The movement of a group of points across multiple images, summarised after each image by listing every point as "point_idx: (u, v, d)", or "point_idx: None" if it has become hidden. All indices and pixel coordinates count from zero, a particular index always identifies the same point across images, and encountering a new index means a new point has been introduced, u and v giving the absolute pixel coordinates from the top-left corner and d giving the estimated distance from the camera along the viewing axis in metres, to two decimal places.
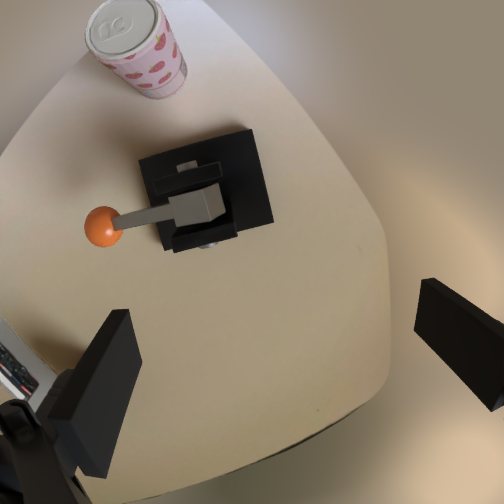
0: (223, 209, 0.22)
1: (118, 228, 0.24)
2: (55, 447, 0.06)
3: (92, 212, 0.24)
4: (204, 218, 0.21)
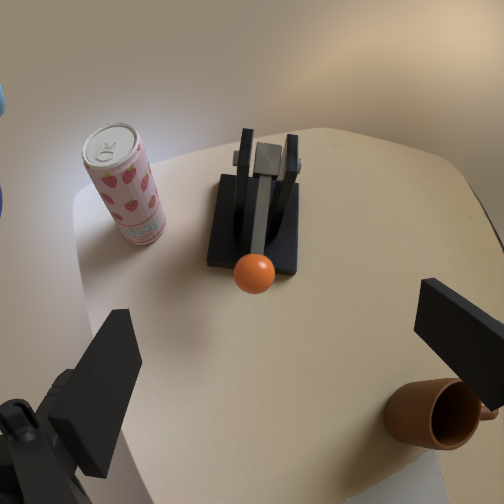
0: None
1: (261, 247, 0.28)
2: (55, 447, 0.06)
3: (236, 271, 0.27)
4: (278, 149, 0.27)
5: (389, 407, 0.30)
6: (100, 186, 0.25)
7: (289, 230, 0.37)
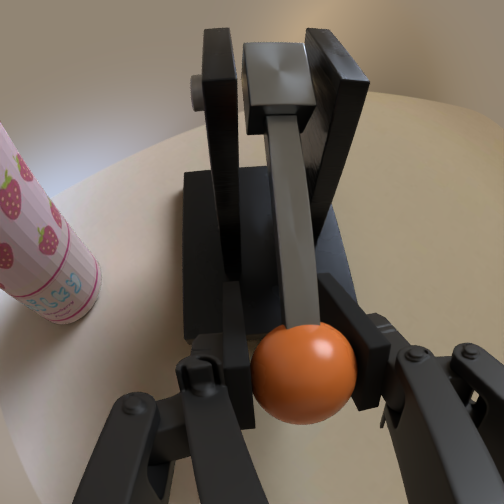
0: None
1: (314, 305, 0.10)
2: None
3: (258, 383, 0.09)
4: (298, 50, 0.09)
5: None
6: None
7: (328, 246, 0.20)
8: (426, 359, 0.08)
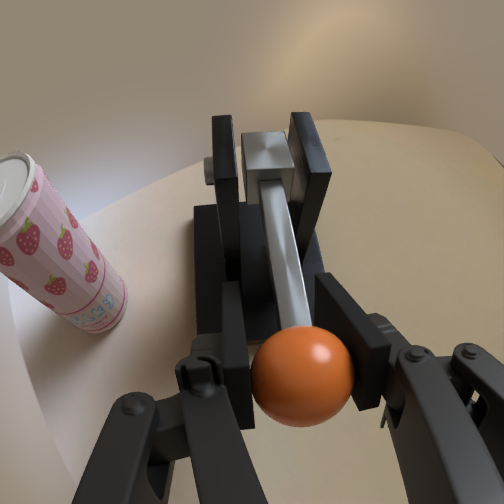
0: None
1: (304, 309, 0.11)
2: None
3: (257, 374, 0.09)
4: (280, 135, 0.15)
5: None
6: None
7: (311, 270, 0.24)
8: (427, 359, 0.08)
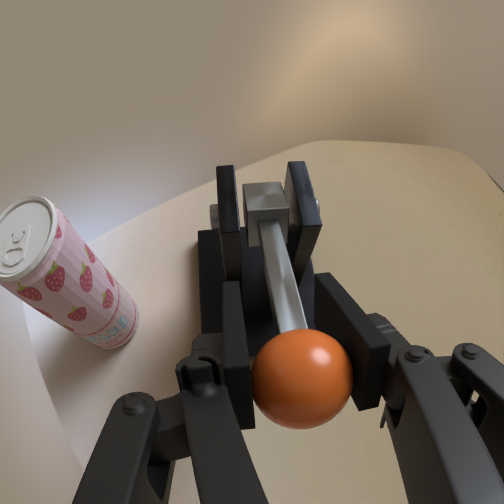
0: None
1: (301, 318, 0.12)
2: None
3: (256, 370, 0.10)
4: (276, 184, 0.18)
5: None
6: (23, 300, 0.15)
7: (306, 292, 0.27)
8: (426, 359, 0.08)
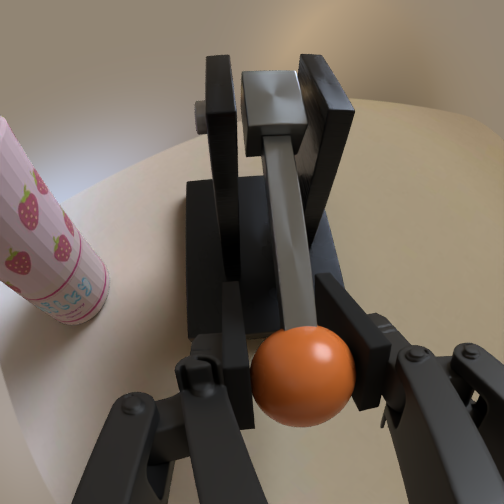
0: None
1: (310, 307, 0.10)
2: None
3: (258, 383, 0.09)
4: (291, 77, 0.11)
5: None
6: None
7: (321, 252, 0.21)
8: (427, 359, 0.08)
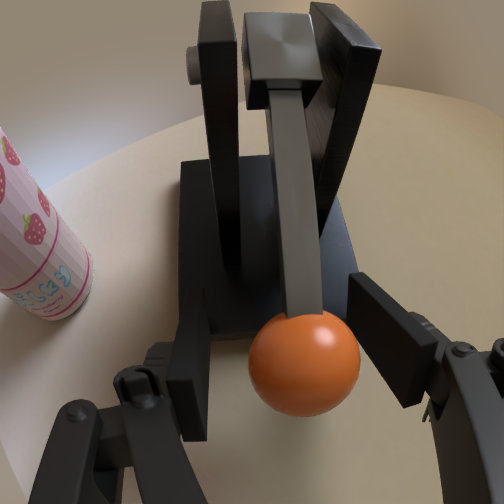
0: None
1: (317, 294, 0.09)
2: (171, 416, 0.08)
3: (258, 376, 0.09)
4: (304, 21, 0.08)
5: None
6: None
7: (333, 237, 0.18)
8: (471, 355, 0.08)
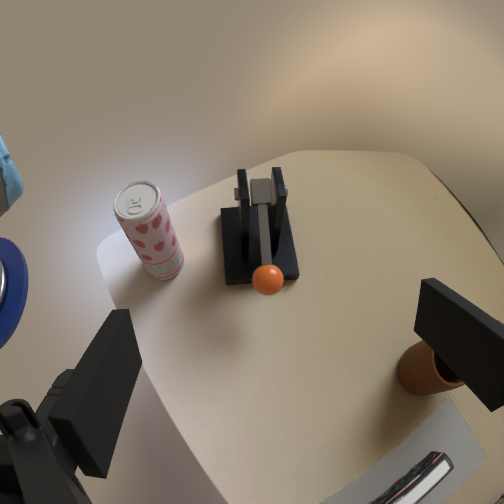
0: None
1: (270, 259, 0.36)
2: (55, 447, 0.06)
3: (254, 280, 0.36)
4: (268, 181, 0.35)
5: (400, 368, 0.37)
6: (134, 234, 0.33)
7: (286, 243, 0.45)
8: None
